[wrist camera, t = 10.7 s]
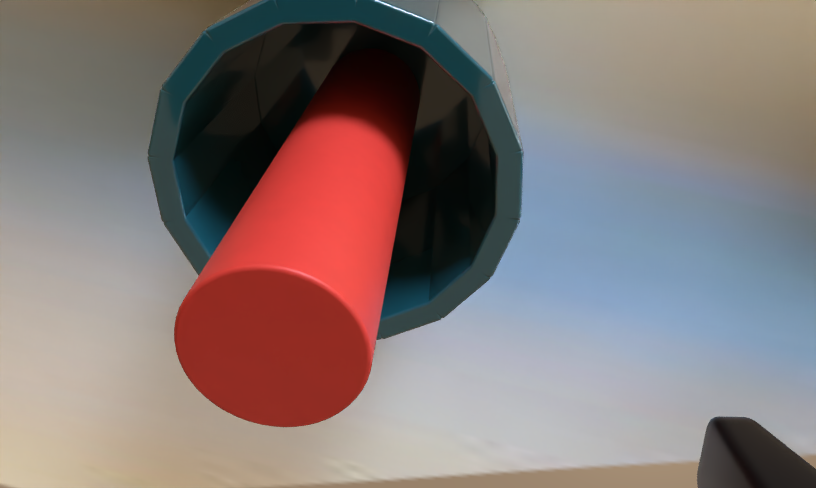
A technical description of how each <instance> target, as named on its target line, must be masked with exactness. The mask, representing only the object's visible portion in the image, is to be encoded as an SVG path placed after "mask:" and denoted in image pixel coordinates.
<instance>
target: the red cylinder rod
mask: <svg viewBox="0 0 816 488" xmlns="http://www.w3.org/2000/svg"><path fill="white" fill-rule="evenodd" d="M419 103H420V93H419V87H418V83H417V81H416V78H415V76H414V74H413V72H412V71H411V70H410V68H409V67H408V66H407V65H406V64H405V63H404V62H403V61H402V60H401V59H400V58H398V57H397V56H395V55H393V54H391V53H389V52H387V51H383V50H379V49H360V50H356V51H353V52H351V53H349V54H347V55H345V56H344V57H342V58H341V59H340V60H339V61H338V62H337V63H336V64H335V65H334V66H333V67H332V69H331V70H330V72H329V73H328V75H327V76H326V78H325V80H324V81H323V83H322V84H321V86H320V87H319V89H318V91H317V92H316V94H315V95H314V97H313V98H312V100H311V101H310V103H309V105H308V106H307V108H306V109H305V111H304V112H303V114H302V115H301V117H300V119H299V120H298V122H297V123H296V125H295V126H294V128H293V130H292V131H291V133H290V134H289V136H288V137H287V139H286V140H285V142H284V144H283V145H282V147H281V148H280V150H279V151H278V153H277V155H276V156H275V158H274V159H273V161H272V162H271V164H270V165H269V167H268V169H267V170H266V172H265V173H264V175H263V176H262V178H261V180H260V181H259V183H258V184H257V186H256V187H255V189H254V190H253V192H252V194H251V195H250V197H249V198H248V200H247V201H246V203H245V204H244V206H243V208H242V209H241V211H240V212H239V214H238V215H237V217H236V219H235V220H234V222H233V223H232V225H231V226H230V228H229V229H228V231H227V233H226V234H225V236H224V237H223V239H222V240H221V242H220V244H219V245H218V247H217V248H216V250H215V251H214V253H213V254H212V256H211V258H210V259H209V261H208V262H207V264H206V265H205V267H204V269H203V270H202V272H201V273H200V275H199V276H198V278H197V279H196V281H195V283H194V284H193V286H192V287H191V289H190V290H189V292H188V293H187V295H186V297H185V298H184V300H183V302H182V304H181V306H180V307H179V310H178V313H177V316H176V320H175V327H174V340H175V347H176V352H177V355H178V358H179V361H180V364H181V366H182V368H183V370H184V372H185V373H186V375H187V376H188V378H189V379H190V381H191V382H192V383H193V385H194V386H195V387H196V388H197V389H198V390H199V391H200V392H201V393H202V394H203V395H204V396H205V397H206V398H207V399H209V400H210V401H211V402H212V403H214V404H215V405H216V406H218V407H220V408H221V409H223V410H225V411H226V412H228V413H230V414H232V415H234V416H236V417H239V418H242V419H244V420H247V421H250V422H254V423H258V424H262V425H268V426H276V427H297V426H304V425H310V424H314V423H318V422H321V421H323V420H326V419H328V418H330V417H332V416H334V415H336V414H338V413H339V412H341V411H342V410H344V409H345V408H346V407H347V406H349V405H350V404H351V403H352V402H353V401H354V400H355V399H356V398H357V396H358V395H359V394H360V392H361V391H362V390H363V388H364V386H365V384H366V382H367V380H368V377H369V374H370V371H371V366H372V360H373V355H374V349H375V344H376V338H377V333H378V327H379V322H380V316H381V311H382V306H383V300H384V295H385V289H386V284H387V278H388V273H389V267H390V262H391V256H392V251H393V245H394V240H395V234H396V229H397V223H398V218H399V213H400V207H401V202H402V196H403V191H404V185H405V180H406V174H407V169H408V163H409V158H410V152H411V147H412V141H413V136H414V130H415V125H416V120H417V114H418V109H419Z"/></svg>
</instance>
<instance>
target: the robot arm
mask: <svg viewBox="0 0 816 488" xmlns="http://www.w3.org/2000/svg"><path fill="white" fill-rule="evenodd" d="M697 484H698V488H816V469H815V468H814V467H812V466H811V465H810V464H809V463H807V462H806V461H805V460H804V459H802V458H801V457H800V456H799V455H797V454H796V453H795V452H794V451H792V450H791V449H790V448H789V447H787V446H786V445H785V444H783V443H782V442H781V441H780V440H778V439H777V438H776V437H775V436H773V435H772V434H771V433H770V432H768V431H767V430H766V429H765V428H763V427H762V426H761V425H760V424H758V423H757V422H755V421H754V420H752V419H750V418H746V417H715V418H713V419H711V420H710V422H709V423H708V426H707V429H706V434H705V438H704V443H703V448H702V453H701V457H700V462H699V467H698V473H697Z"/></svg>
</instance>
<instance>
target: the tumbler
mask: <svg viewBox="0 0 816 488" xmlns="http://www.w3.org/2000/svg"><path fill="white" fill-rule="evenodd" d="M360 49H379V50H383V51H387V52H389V53H391V54H393V55H395V56H397V57H398V58H400V59H401V60H402V61H403V62H404V63H405V64H406V65H407V66H408V67H409V68H410V70H411V71H412V72H413V74H414V76H415V78H416V81H417V83H418V87H419V93H420V103H419V109H418V114H417V120H416V125H415V130H414V136H413V141H412V147H411V152H410V158H409V163H408V169H407V174H406V180H405V185H404V191H403V196H402V202H401V207H400V213H399V218H398V223H397V229H396V234H395V240H394V245H393V251H392V256H391V262H390V267H389V273H388V278H387V284H386V289H385V295H384V300H383V306H382V311H381V316H380V322H379V327H378V333H377V338H376V340H380V339H381V338H382V339H385V338H388V337H391V336H394V335H397V334H400V333H403V332H406V331H409V330H412V329H415V328H418V327H421V326H423V325H426V324H429V323H432V322H435V321H438V320H440V319H441V318H444V317H445V316H447V315H448V314H449V313H450V312H451V311H452V310H454V309H455V308H456V307H457V306H458V305H460V304H461V303H462V302H463V301H464V300H466V299H467V298H468V297H469V296H470V295H471V294H473V293H474V292H475V291H476V290H477V289H479V288H480V287H481V286H482V285H483V284H485V283H486V282H487V281H488V280H489V279H490V277H491V276H492V275H493V274H494V272H495V270H496V268H497V266H498V264H499V262H500V260H501V258H502V256H503V254H504V252H505V250H506V248H507V246H508V244H509V242H510V240H511V238H512V236H513V234H514V232H515V230H516V228H517V226H518V224H519V222H520V217H521V205H522V179H523V148H522V142H521V137H520V133H519V128H518V123H517V118H516V113H515V109H514V104H513V99H512V94H511V89H510V84H509V80H508V75H507V70H506V65H505V63H504V60H503V58H502V55H501V53H500V50H499V47H498V44H497V41H496V38H495V35H494V33H493V31H492V29H491V27H490V25H489V23H488V20H487V18H486V17H485V15H484V13H483V12H482V11H481V10H480V8H479V7H478V5H477V4H476V3H475V2H474V1H473V0H249V1H248V2H246V3H245V4H243V5H242V6H240V7H239V8H237V9H235V10H234V11H232V12H231V13H229V14H228V15H226V16H225V17H223V18H221V19H220V20H218V21H217V22H215V23H214V24H212V25H211V26H209V27H208V28H207V29H206V30H204V31H203V32H202V33H201V34H200V36H199V37H198V38H197V40H196V41H195V42H194V44H193V45H192V46H191V48H190V49H189V50H188V51H187V53H186V54H185V55H184V57H183V58H182V59H181V61H180V62H179V63H178V65H177V66H176V67H175V69H174V70H173V71H172V73H171V74H170V75H169V77H168V78H167V79H166V81H165V82H164V83H163V85H162V88H161V90H160V93H159V98H158V103H157V108H156V113H155V118H154V124H153V129H152V134H151V139H150V144H149V149H148V155H149V156H148V162H149V166H150V171H151V175H152V179H153V184H154V188H155V192H156V197H157V201H158V206H159V210H160V214H161V219H162V221H163V222H164V225H165V227H166V228H167V230H168V231H169V232H170V234H171V235H172V237H173V238H174V240H175V241H176V243H177V244H178V246H179V247H180V249H181V250H182V252H183V253H184V255H185V256H186V257H187V259H188V260H189V262H190V263H191V265H192V266H193V268H194V269H195V271H196V272H197V274H198V275H200V273H201V272H202V270H203V269H204V267H205V265H206V264H207V262H208V261H209V259H210V258H211V256H212V254H213V253H214V251H215V250H216V248H217V247H218V245H219V244H220V242H221V240H222V239H223V237H224V236H225V234H226V233H227V231H228V229H229V228H230V226H231V225H232V223H233V222H234V220H235V219H236V217H237V215H238V214H239V212H240V211H241V209H242V208H243V206H244V204H245V203H246V201H247V200H248V198H249V197H250V195H251V194H252V192H253V190H254V189H255V187H256V186H257V184H258V183H259V181H260V180H261V178H262V176H263V175H264V173H265V172H266V170H267V169H268V167H269V165H270V164H271V162H272V161H273V159H274V158H275V156H276V155H277V153H278V151H279V150H280V148H281V147H282V145H283V144H284V142H285V140H286V139H287V137H288V136H289V134H290V133H291V131H292V130H293V128H294V126H295V125H296V123H297V122H298V120H299V119H300V117H301V115H302V114H303V112H304V111H305V109H306V108H307V106H308V105H309V103H310V101H311V100H312V98H313V97H314V95H315V94H316V92H317V91H318V89H319V87H320V86H321V84H322V83H323V81H324V80H325V78H326V76H327V75H328V73H329V72H330V70H331V69H332V67H333V66H334V65H335V64H336V63H337V62H338V61H339V60H340V59H341V58H342V57H344V56H345V55H347V54H349V53H351V52H353V51H356V50H360Z"/></svg>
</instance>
